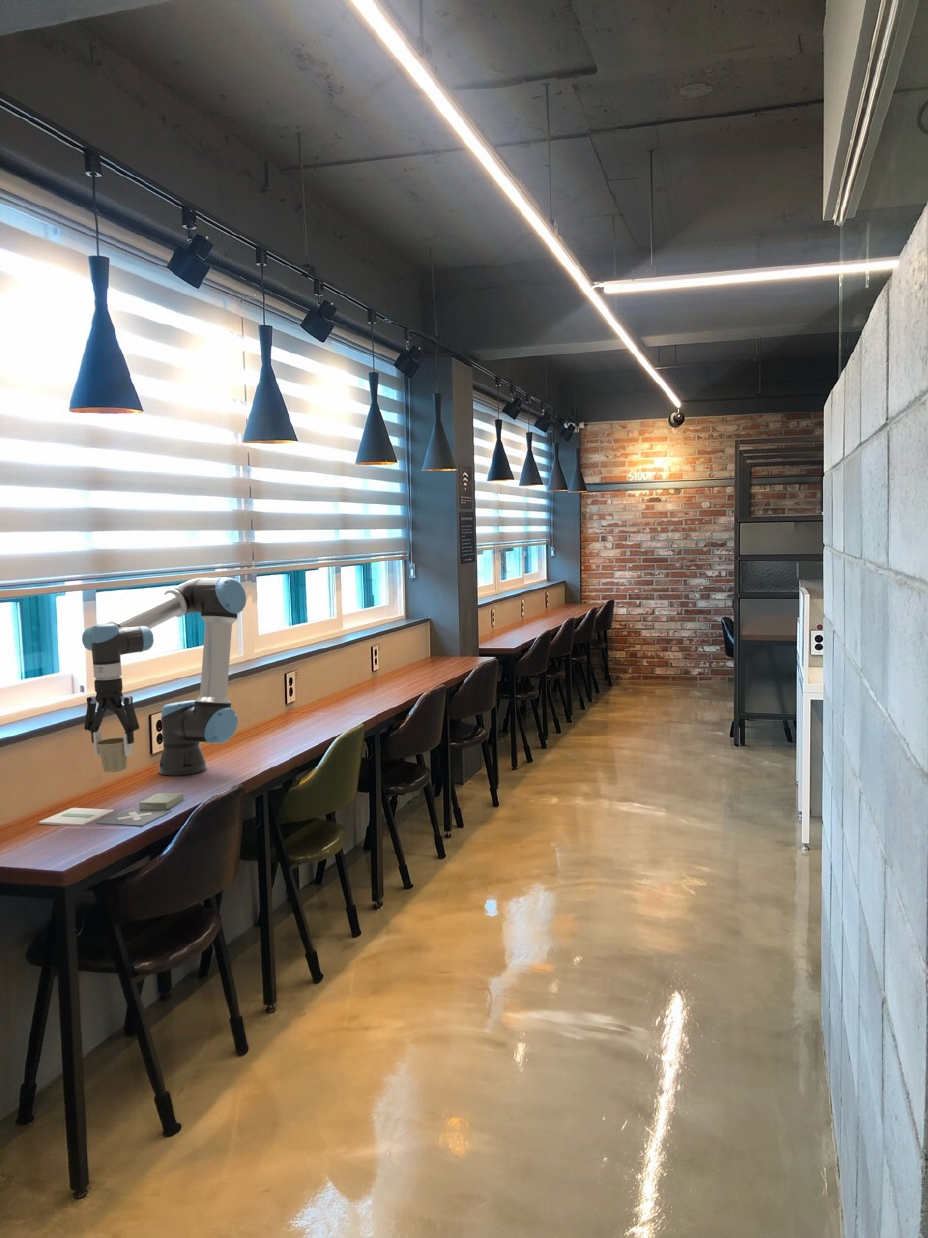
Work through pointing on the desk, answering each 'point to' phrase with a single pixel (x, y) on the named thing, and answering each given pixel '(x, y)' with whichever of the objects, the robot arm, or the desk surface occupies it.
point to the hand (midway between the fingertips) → (113, 754)
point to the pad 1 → (76, 816)
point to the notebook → (161, 801)
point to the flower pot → (112, 754)
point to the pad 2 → (134, 817)
